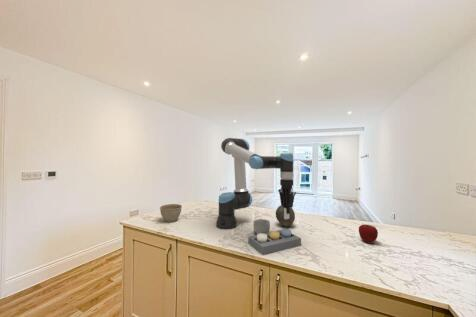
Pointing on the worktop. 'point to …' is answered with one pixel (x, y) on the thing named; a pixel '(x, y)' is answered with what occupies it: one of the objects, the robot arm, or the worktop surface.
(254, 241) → the three ball holder
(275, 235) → the button ochre
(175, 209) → the planter bowl
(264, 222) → the teacup
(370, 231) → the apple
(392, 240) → the worktop surface
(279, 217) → the smooth brown stone
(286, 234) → the button blue
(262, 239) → the button ivory
